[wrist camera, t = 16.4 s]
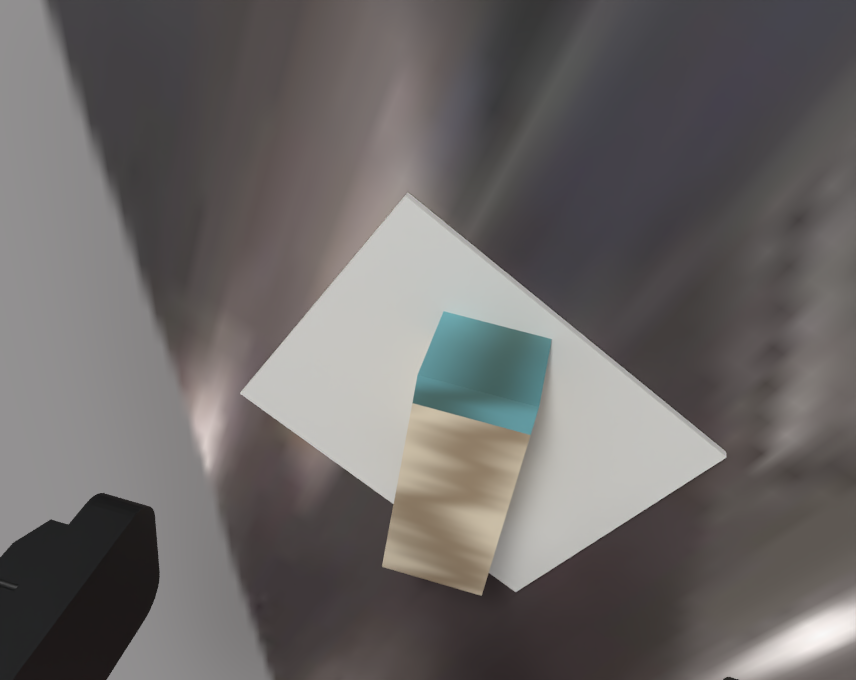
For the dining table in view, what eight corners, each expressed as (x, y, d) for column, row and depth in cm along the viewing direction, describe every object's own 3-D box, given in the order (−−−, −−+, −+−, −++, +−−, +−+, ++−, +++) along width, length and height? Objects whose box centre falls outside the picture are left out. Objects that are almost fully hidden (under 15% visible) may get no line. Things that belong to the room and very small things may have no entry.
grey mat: (725, 451, 38) (726, 457, 37) (516, 586, 46) (515, 592, 46) (407, 192, 34) (405, 195, 34) (243, 388, 43) (240, 393, 42)
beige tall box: (381, 566, 39) (417, 374, 33) (407, 495, 44) (443, 310, 37) (481, 595, 39) (539, 407, 32) (497, 520, 43) (551, 339, 36)
